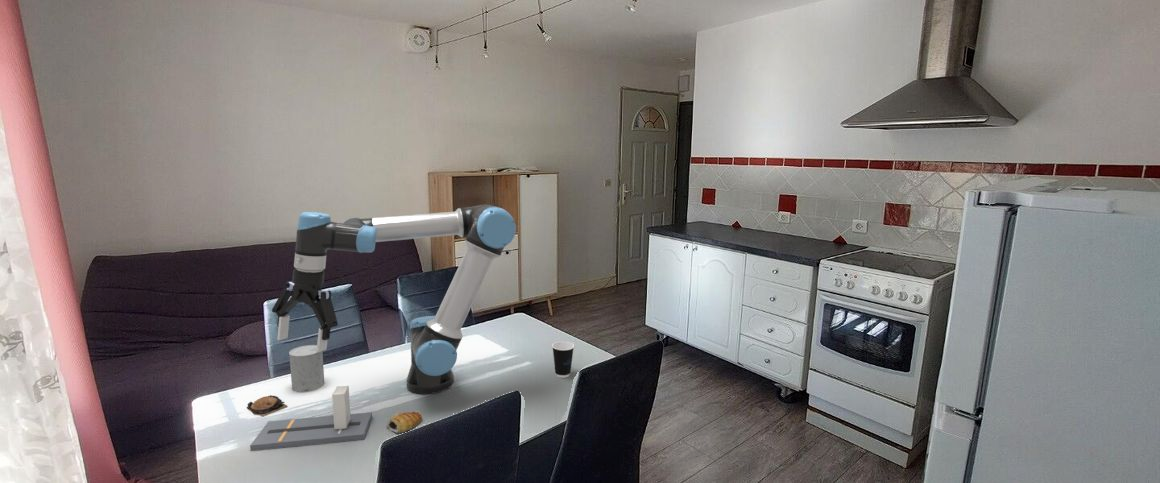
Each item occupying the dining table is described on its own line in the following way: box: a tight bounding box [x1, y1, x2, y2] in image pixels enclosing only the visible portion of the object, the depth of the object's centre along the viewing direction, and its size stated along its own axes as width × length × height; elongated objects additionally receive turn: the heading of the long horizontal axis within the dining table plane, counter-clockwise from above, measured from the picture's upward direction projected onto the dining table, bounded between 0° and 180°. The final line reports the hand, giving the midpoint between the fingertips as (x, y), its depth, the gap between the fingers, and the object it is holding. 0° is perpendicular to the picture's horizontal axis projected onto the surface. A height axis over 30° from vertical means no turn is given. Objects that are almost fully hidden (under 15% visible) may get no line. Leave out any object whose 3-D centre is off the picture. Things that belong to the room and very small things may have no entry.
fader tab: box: [331, 385, 351, 429], centre depth 134 cm, size 3×5×10 cm, turn 13°
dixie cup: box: [551, 340, 575, 379], centre depth 173 cm, size 8×8×11 cm
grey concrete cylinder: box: [288, 344, 326, 393], centre depth 160 cm, size 10×10×12 cm
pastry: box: [386, 410, 423, 434], centre depth 139 cm, size 9×7×4 cm
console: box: [249, 411, 373, 452], centre depth 134 cm, size 27×12×2 cm, turn 103°
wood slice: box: [246, 395, 289, 418], centre depth 147 cm, size 11×8×4 cm
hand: (301, 344), depth 135 cm, fingers open, 13 cm apart
